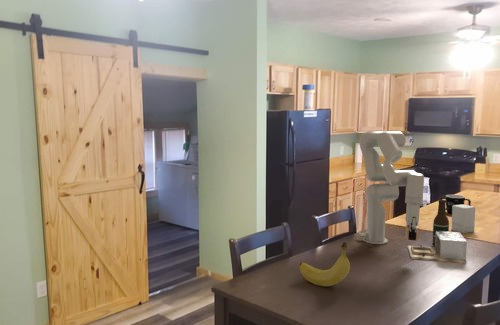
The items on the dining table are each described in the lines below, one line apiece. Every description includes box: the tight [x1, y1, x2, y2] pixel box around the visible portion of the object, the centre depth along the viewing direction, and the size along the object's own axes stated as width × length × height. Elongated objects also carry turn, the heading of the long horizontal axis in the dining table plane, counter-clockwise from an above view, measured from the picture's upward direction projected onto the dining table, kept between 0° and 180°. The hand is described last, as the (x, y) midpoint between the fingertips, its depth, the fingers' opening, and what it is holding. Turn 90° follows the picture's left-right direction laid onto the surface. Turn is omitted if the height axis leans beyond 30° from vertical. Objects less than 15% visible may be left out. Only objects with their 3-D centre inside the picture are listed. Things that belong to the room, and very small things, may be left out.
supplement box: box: [451, 204, 476, 234], centre depth 246 cm, size 9×9×15 cm
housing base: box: [407, 244, 467, 264], centre depth 204 cm, size 24×18×2 cm
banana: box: [298, 241, 351, 287], centre depth 167 cm, size 23×6×20 cm, turn 50°
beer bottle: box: [432, 199, 450, 245], centre depth 220 cm, size 8×8×24 cm
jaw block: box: [405, 223, 419, 242], centre depth 193 cm, size 5×5×6 cm
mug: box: [439, 194, 472, 214], centre depth 292 cm, size 16×16×12 cm
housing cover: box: [434, 231, 468, 261], centre depth 202 cm, size 11×16×9 cm
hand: (411, 237), depth 194 cm, fingers closed on jaw block, 5 cm apart
